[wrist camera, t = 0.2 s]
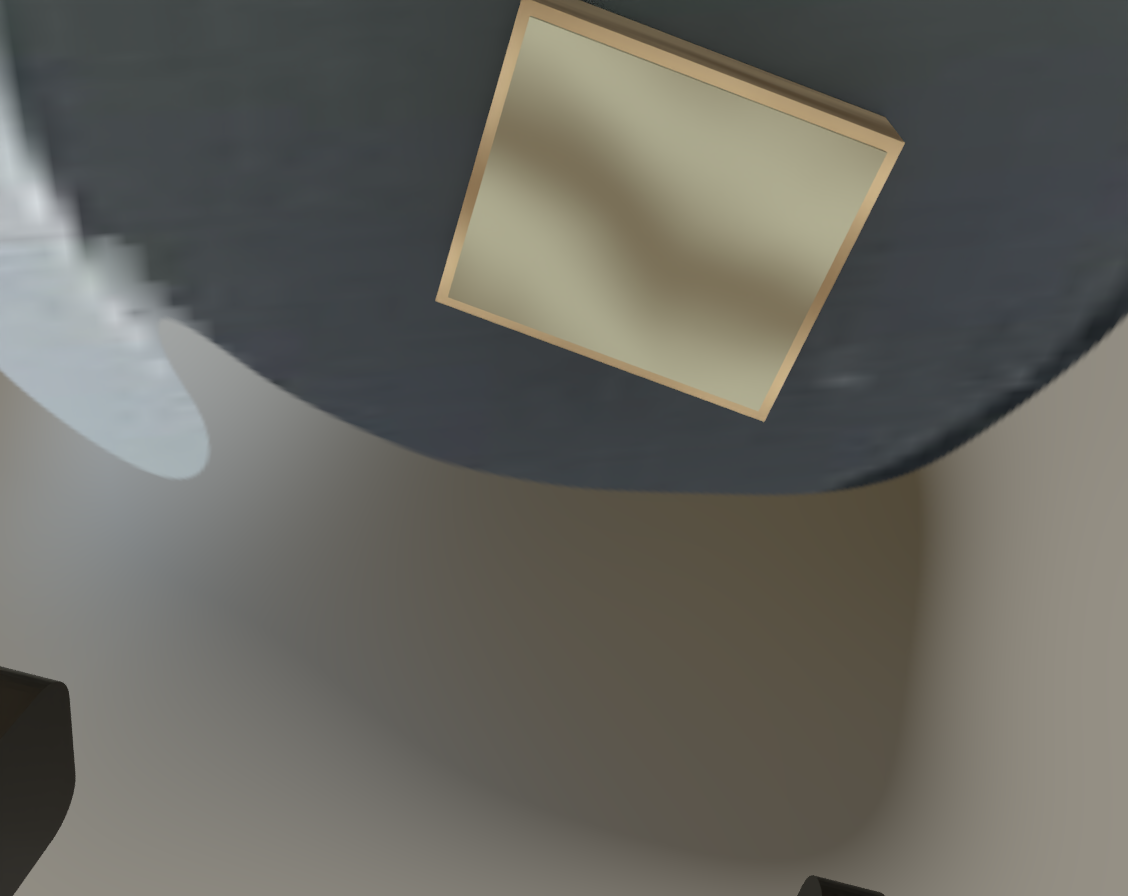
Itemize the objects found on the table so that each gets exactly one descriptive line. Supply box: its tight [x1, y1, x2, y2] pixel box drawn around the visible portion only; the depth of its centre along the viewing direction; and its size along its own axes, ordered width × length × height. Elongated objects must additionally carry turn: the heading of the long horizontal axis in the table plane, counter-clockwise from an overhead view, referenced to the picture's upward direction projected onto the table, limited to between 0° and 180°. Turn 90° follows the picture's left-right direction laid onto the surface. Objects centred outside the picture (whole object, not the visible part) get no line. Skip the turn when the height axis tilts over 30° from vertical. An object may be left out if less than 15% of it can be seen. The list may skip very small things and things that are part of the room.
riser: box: [436, 0, 905, 422], centre depth 33 cm, size 10×12×4 cm
